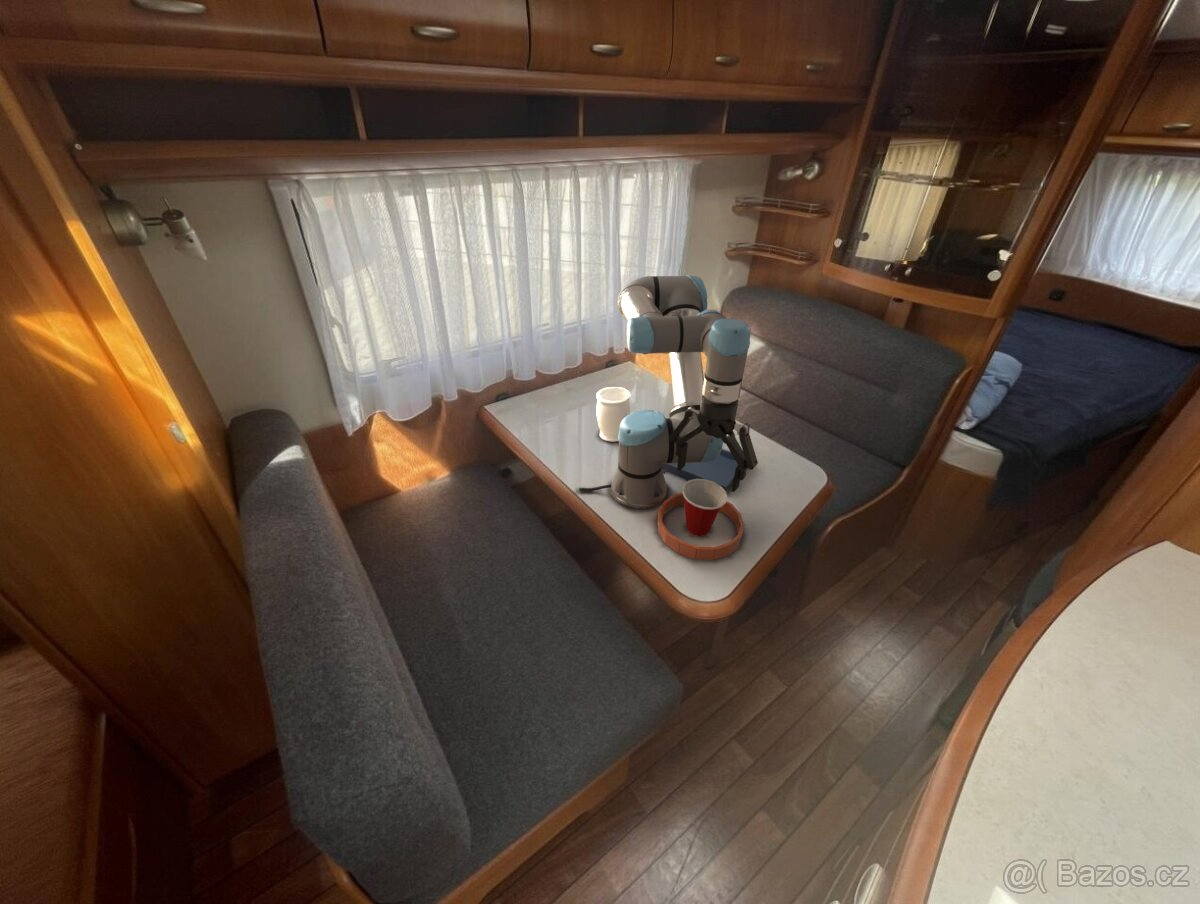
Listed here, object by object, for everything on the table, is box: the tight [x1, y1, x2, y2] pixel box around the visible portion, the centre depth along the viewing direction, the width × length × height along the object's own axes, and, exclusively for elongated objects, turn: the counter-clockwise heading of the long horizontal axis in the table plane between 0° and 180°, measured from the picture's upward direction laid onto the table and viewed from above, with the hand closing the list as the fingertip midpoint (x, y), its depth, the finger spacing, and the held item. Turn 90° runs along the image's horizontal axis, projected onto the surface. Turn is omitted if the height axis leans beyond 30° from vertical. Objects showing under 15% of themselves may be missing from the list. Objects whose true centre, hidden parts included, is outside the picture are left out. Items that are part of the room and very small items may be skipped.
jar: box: [595, 386, 631, 443], centre depth 151 cm, size 11×10×15 cm
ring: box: [656, 492, 745, 561], centre depth 119 cm, size 21×21×4 cm
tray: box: [662, 448, 738, 493], centre depth 141 cm, size 22×17×3 cm
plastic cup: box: [681, 479, 729, 537], centre depth 117 cm, size 11×11×12 cm
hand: (707, 478), depth 111 cm, fingers open, 13 cm apart
